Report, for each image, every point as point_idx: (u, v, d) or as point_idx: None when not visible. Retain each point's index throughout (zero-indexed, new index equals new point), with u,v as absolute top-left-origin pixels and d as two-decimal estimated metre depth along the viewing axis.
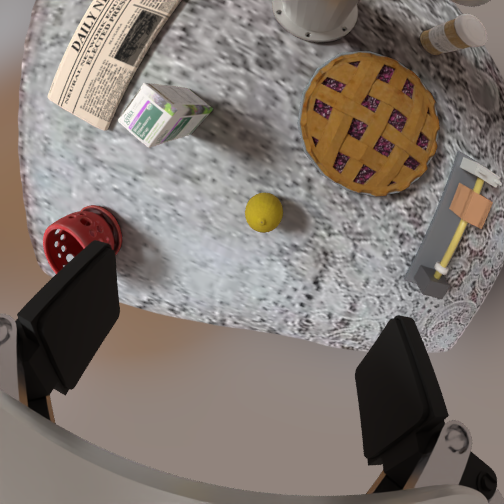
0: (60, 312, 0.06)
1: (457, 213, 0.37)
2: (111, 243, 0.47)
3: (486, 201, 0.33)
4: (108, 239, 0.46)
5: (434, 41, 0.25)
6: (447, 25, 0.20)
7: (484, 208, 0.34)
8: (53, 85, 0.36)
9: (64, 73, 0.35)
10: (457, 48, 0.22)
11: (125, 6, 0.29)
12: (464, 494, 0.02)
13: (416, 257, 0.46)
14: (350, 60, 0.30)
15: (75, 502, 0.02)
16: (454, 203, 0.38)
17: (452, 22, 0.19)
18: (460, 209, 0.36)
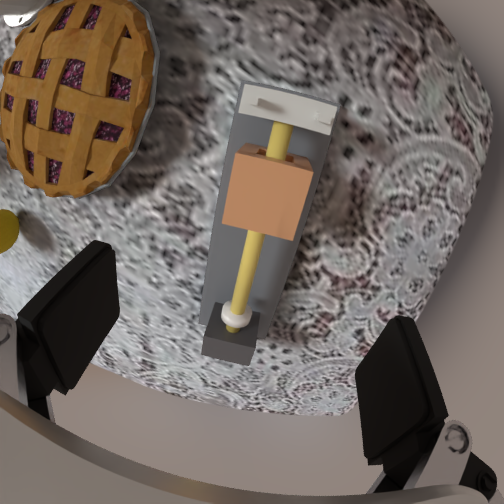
0: (60, 312, 0.06)
1: None
2: None
3: (287, 171, 0.17)
4: None
5: None
6: None
7: (285, 190, 0.18)
8: None
9: None
10: None
11: None
12: (464, 494, 0.02)
13: None
14: (31, 28, 0.14)
15: (75, 502, 0.02)
16: None
17: None
18: None
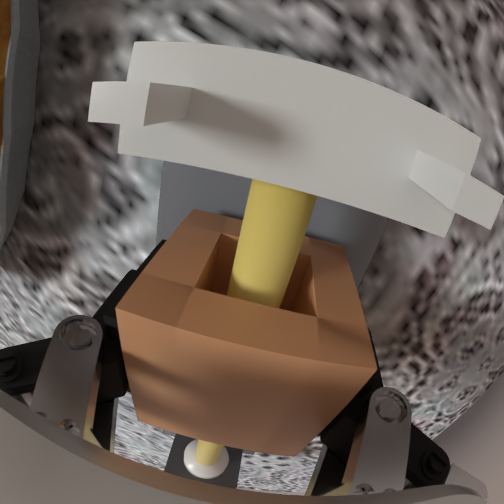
0: None
1: None
2: None
3: (293, 370, 0.05)
4: None
5: None
6: None
7: (283, 403, 0.06)
8: None
9: None
10: None
11: None
12: (464, 494, 0.02)
13: None
14: None
15: (75, 502, 0.02)
16: None
17: None
18: None
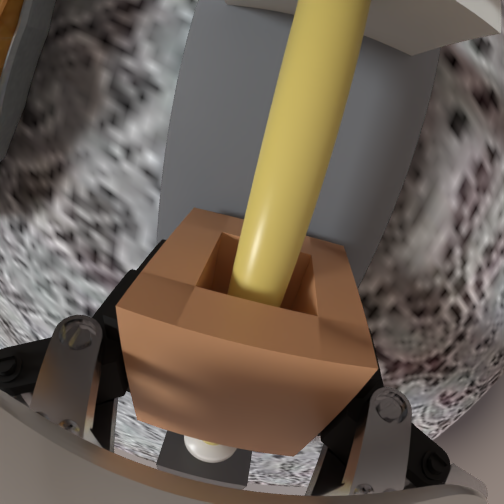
0: None
1: None
2: None
3: (294, 370, 0.05)
4: None
5: None
6: None
7: (284, 402, 0.06)
8: None
9: None
10: None
11: None
12: (464, 494, 0.02)
13: None
14: None
15: (75, 502, 0.02)
16: None
17: None
18: None
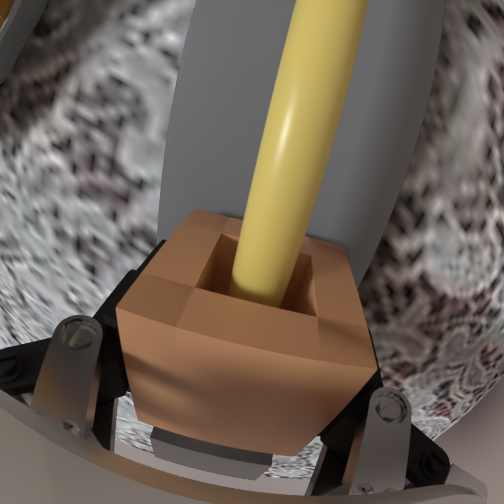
0: None
1: None
2: None
3: (293, 370, 0.05)
4: None
5: None
6: None
7: (283, 403, 0.06)
8: None
9: None
10: None
11: None
12: (464, 494, 0.02)
13: None
14: None
15: (75, 502, 0.02)
16: None
17: None
18: None
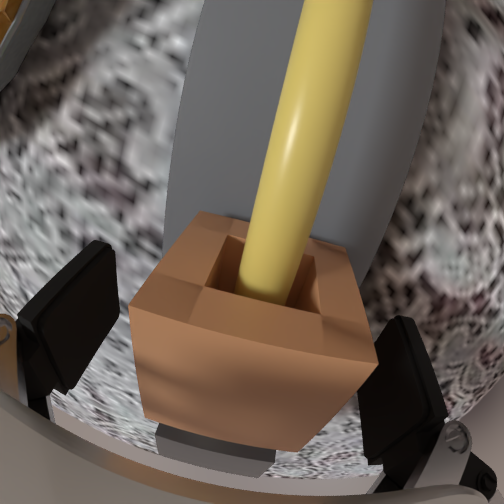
0: (60, 312, 0.06)
1: None
2: None
3: (299, 365, 0.05)
4: None
5: None
6: None
7: (288, 397, 0.06)
8: None
9: None
10: None
11: None
12: (464, 494, 0.02)
13: None
14: None
15: (75, 502, 0.02)
16: None
17: None
18: None
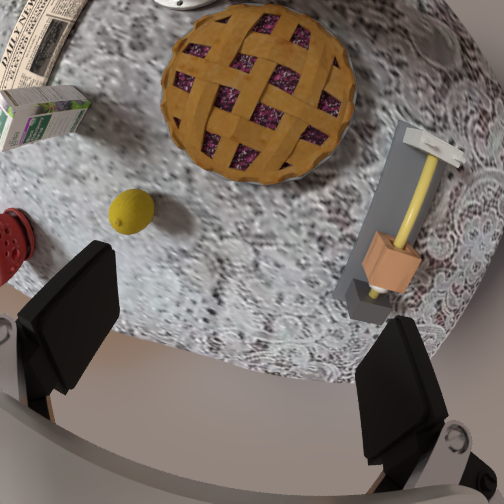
0: (60, 312, 0.06)
1: (367, 273, 0.33)
2: (20, 245, 0.39)
3: (410, 259, 0.29)
4: (16, 241, 0.38)
5: None
6: None
7: (406, 268, 0.30)
8: None
9: None
10: None
11: (40, 17, 0.22)
12: (464, 494, 0.02)
13: (345, 268, 0.38)
14: (218, 17, 0.22)
15: (75, 502, 0.02)
16: (367, 258, 0.35)
17: None
18: (370, 269, 0.33)
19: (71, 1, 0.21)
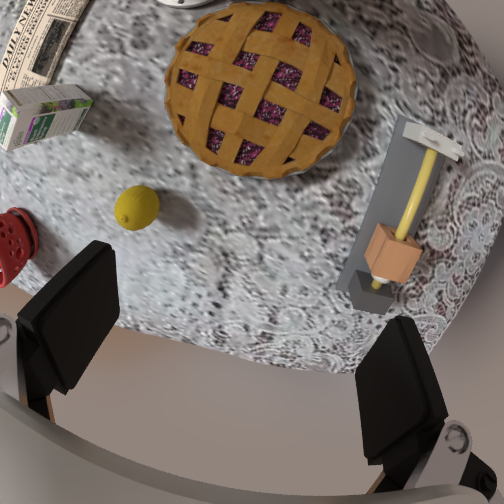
0: (60, 312, 0.06)
1: (369, 264, 0.34)
2: (24, 244, 0.39)
3: (411, 250, 0.30)
4: (20, 240, 0.38)
5: None
6: None
7: (408, 259, 0.31)
8: None
9: None
10: None
11: (41, 18, 0.22)
12: (464, 494, 0.02)
13: (348, 259, 0.38)
14: (220, 16, 0.22)
15: (75, 502, 0.02)
16: (369, 250, 0.35)
17: None
18: (373, 260, 0.33)
19: (73, 1, 0.21)
